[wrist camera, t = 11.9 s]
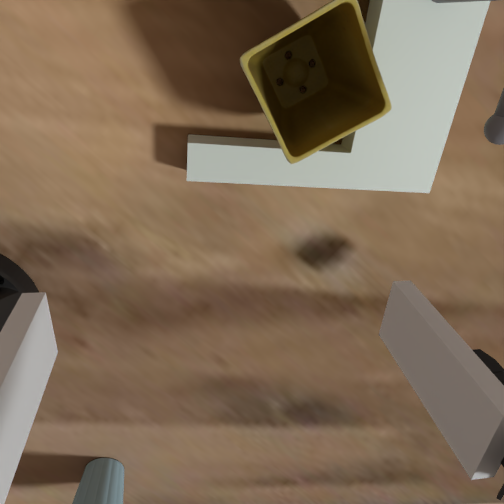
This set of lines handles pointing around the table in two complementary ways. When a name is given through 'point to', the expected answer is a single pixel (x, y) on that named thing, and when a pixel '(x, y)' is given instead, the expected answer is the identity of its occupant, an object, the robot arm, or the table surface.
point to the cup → (101, 483)
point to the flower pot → (318, 79)
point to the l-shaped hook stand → (387, 127)
